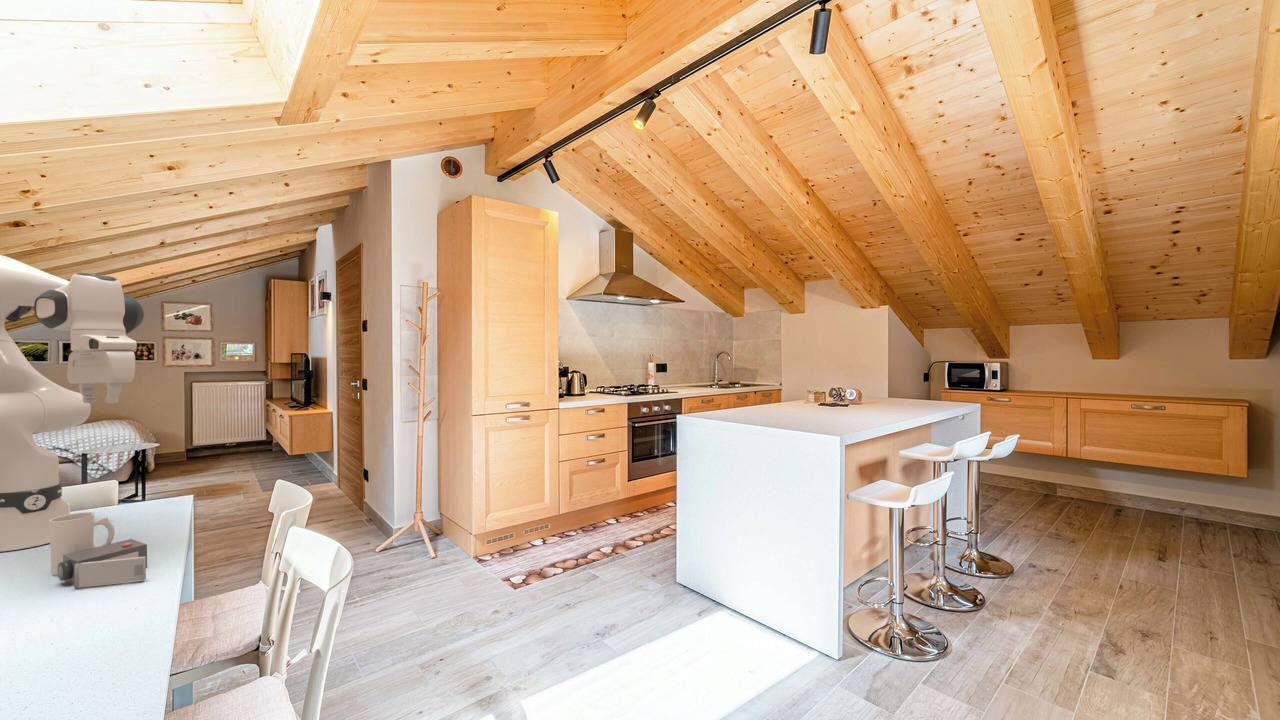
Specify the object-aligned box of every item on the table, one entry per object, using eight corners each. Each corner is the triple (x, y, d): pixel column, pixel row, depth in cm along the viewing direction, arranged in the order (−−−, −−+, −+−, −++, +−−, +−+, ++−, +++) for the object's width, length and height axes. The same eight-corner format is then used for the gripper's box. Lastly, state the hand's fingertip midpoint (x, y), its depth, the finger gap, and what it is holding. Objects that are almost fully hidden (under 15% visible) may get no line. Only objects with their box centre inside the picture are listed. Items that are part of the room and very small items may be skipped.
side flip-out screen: (77, 586, 107) (76, 563, 107) (146, 578, 110) (145, 556, 110) (72, 588, 106) (72, 565, 106) (142, 580, 109) (142, 558, 109)
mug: (46, 579, 111) (45, 523, 111) (53, 569, 116) (52, 516, 116) (112, 566, 117) (112, 514, 117) (116, 558, 123) (116, 507, 123)
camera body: (54, 582, 109) (53, 554, 109) (131, 561, 120) (131, 536, 120) (68, 590, 106) (68, 560, 106) (147, 568, 117) (147, 541, 116)
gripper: (56, 344, 120) (58, 404, 120) (104, 341, 113) (106, 404, 113) (93, 345, 126) (94, 401, 126) (141, 342, 118) (143, 402, 118)
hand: (100, 403), depth 119 cm, fingers open, 8 cm apart
